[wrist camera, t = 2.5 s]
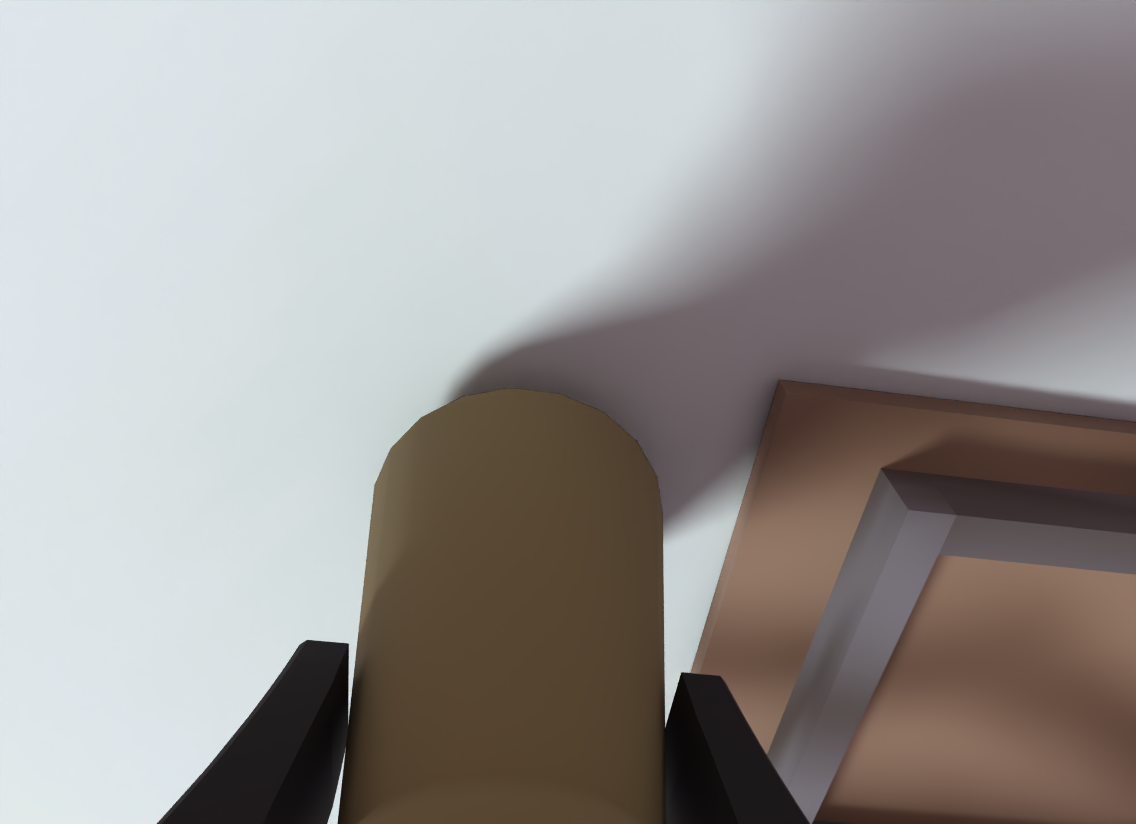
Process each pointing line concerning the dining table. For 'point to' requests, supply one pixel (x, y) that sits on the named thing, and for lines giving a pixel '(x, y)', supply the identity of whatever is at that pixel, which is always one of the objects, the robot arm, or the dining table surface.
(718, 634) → the framed serving tray
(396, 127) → the dining table surface
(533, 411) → the cork
